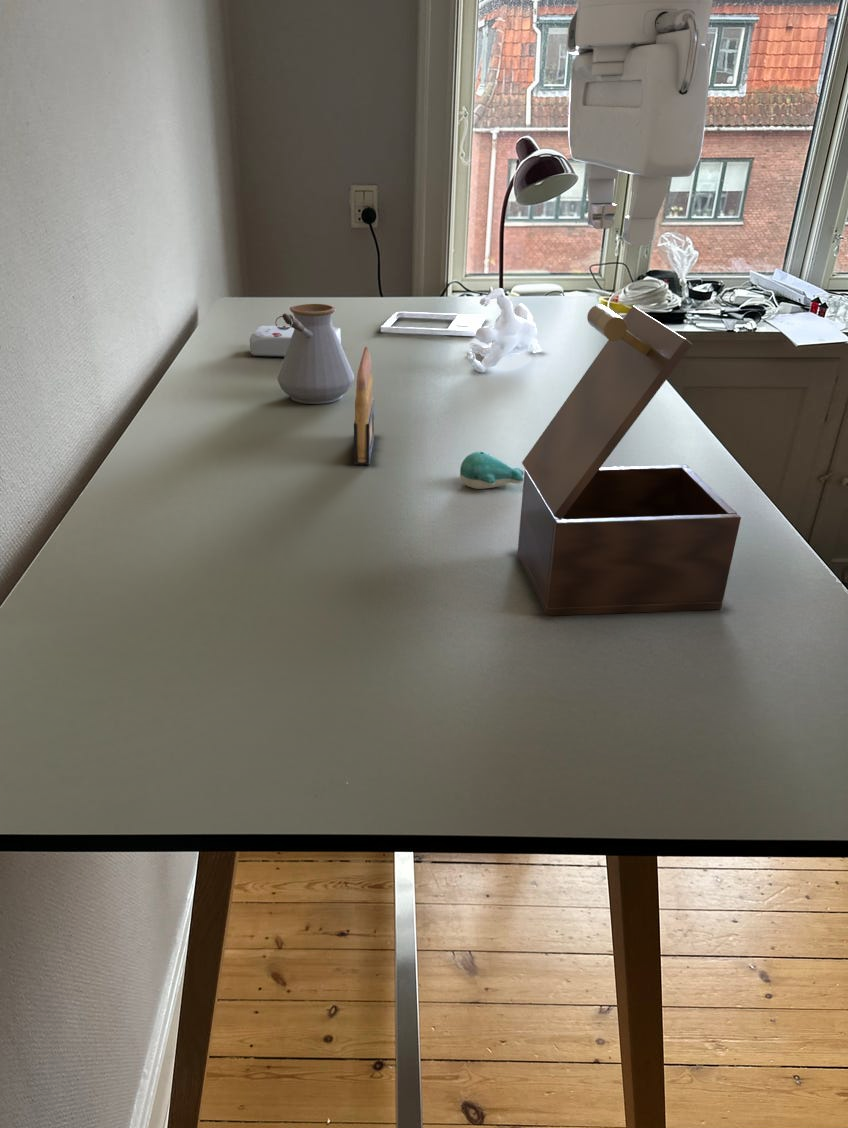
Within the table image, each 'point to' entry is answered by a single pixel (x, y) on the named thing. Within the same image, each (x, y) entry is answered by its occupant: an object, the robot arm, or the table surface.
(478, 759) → the table surface
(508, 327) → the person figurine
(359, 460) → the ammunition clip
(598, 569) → the compartment
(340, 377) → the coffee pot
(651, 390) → the compartment lid
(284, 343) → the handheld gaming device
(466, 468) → the whale figurine
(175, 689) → the table surface
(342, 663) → the table surface
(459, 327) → the photo frame
